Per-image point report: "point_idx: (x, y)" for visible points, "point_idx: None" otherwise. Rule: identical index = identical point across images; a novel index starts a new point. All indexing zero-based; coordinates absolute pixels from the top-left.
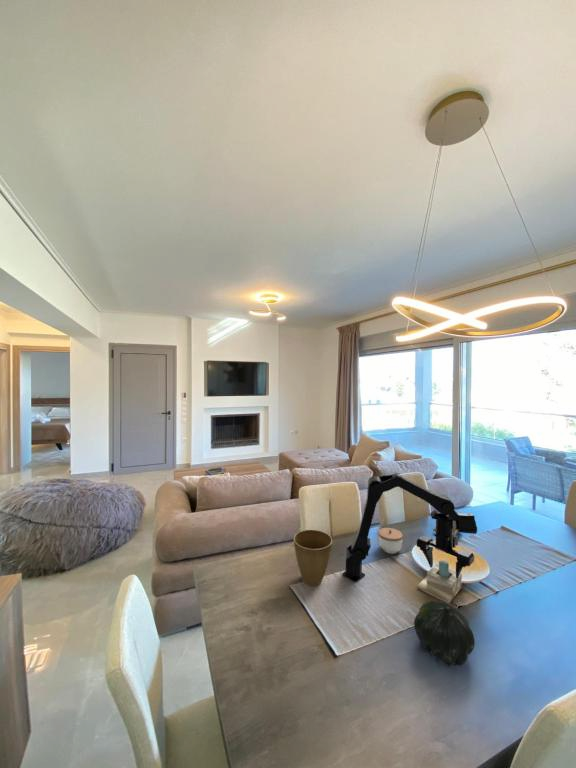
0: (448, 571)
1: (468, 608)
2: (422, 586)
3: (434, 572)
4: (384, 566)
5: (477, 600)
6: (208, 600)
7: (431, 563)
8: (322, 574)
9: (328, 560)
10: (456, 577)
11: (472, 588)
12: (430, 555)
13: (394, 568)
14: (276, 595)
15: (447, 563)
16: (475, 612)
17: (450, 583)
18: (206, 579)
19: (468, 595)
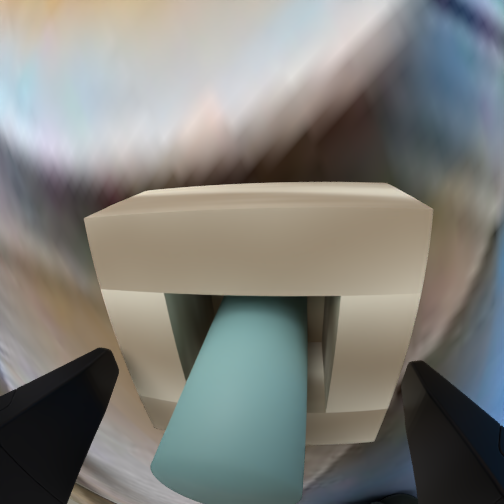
0: (306, 405)
1: (444, 365)
2: None
3: (178, 396)
4: (4, 320)
5: (488, 256)
6: (73, 499)
7: (97, 403)
8: None
9: None
10: (406, 400)
11: (441, 121)
12: (42, 466)
13: (17, 306)
14: (78, 489)
15: (276, 486)
16: (472, 364)
17: (357, 439)
18: None
19: (441, 246)
